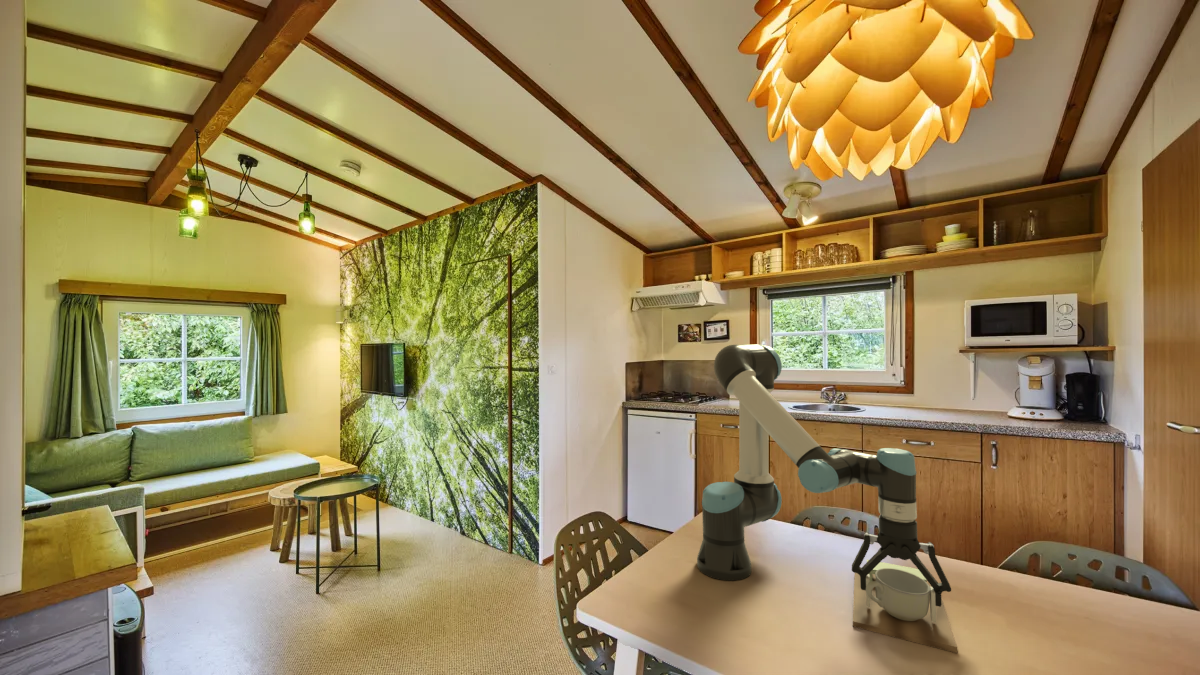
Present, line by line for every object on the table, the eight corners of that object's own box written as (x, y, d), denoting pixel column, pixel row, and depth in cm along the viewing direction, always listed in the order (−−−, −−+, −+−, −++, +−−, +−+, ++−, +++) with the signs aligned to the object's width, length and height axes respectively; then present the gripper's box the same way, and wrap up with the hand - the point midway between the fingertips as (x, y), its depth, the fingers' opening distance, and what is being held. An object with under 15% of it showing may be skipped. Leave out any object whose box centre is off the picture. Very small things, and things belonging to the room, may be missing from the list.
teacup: (913, 602, 112) (912, 568, 112) (942, 629, 101) (941, 592, 101) (853, 599, 113) (852, 566, 113) (875, 625, 102) (874, 589, 102)
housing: (867, 582, 122) (866, 568, 122) (867, 572, 127) (866, 559, 127) (927, 595, 115) (926, 580, 115) (924, 584, 121) (923, 570, 121)
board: (852, 626, 105) (852, 614, 105) (854, 574, 129) (854, 564, 129) (957, 653, 95) (957, 639, 95) (938, 591, 119) (938, 580, 120)
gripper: (838, 513, 110) (840, 605, 109) (966, 532, 98) (968, 635, 97) (839, 503, 116) (841, 590, 116) (959, 521, 104) (962, 617, 104)
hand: (899, 611), depth 107 cm, fingers closed on teacup, 12 cm apart
